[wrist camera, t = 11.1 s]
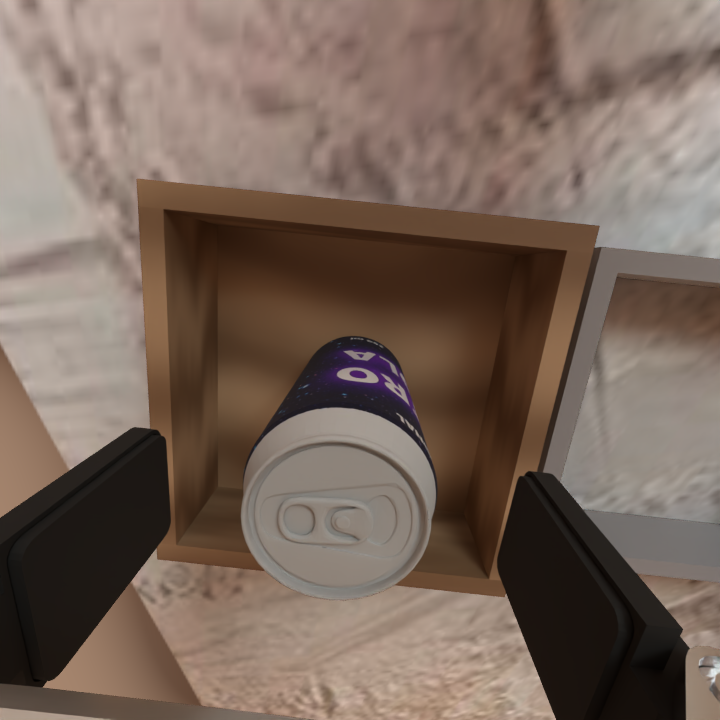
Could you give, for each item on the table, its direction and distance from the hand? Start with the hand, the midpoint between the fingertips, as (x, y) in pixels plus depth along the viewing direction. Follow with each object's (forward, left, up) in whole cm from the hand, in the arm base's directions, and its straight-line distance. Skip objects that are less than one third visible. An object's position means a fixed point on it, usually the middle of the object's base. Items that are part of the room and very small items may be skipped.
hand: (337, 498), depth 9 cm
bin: (+1, 0, -13) cm, 13 cm away
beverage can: (0, 0, -12) cm, 12 cm away
